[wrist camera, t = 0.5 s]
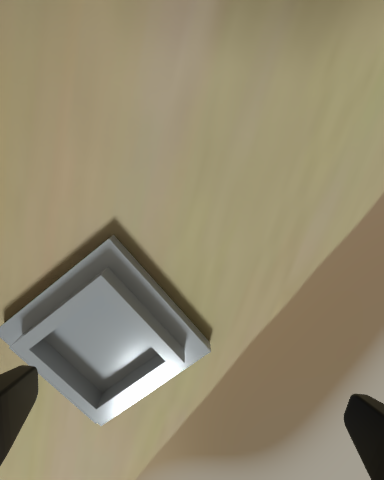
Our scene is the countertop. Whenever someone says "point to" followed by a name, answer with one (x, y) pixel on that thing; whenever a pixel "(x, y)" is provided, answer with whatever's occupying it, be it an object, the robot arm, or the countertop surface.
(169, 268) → the countertop surface
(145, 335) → the seat dish
